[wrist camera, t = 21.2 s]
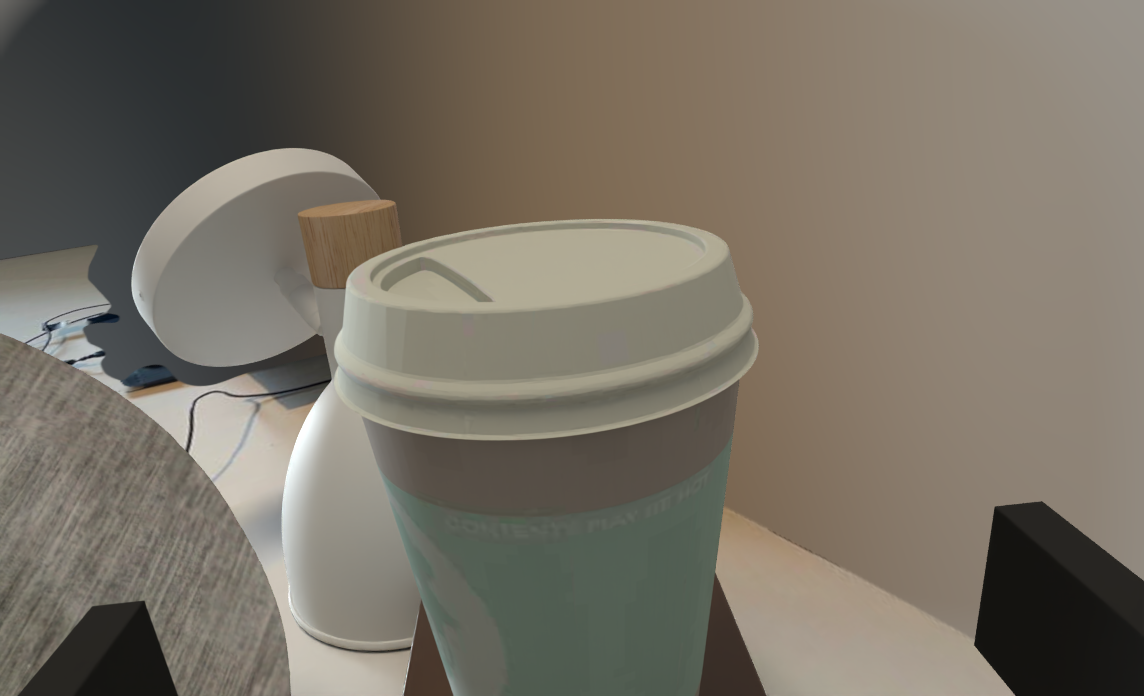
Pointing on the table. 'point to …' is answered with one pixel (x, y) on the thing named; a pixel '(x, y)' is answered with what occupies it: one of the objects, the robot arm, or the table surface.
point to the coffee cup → (555, 444)
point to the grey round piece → (121, 536)
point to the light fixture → (273, 325)
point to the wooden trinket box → (726, 671)
